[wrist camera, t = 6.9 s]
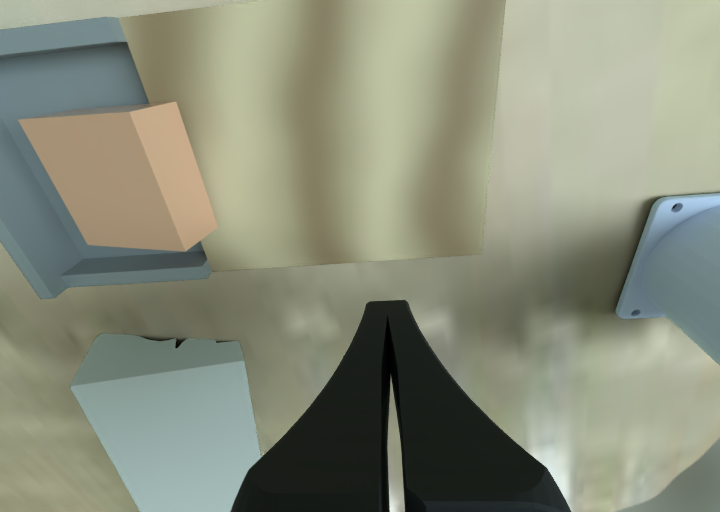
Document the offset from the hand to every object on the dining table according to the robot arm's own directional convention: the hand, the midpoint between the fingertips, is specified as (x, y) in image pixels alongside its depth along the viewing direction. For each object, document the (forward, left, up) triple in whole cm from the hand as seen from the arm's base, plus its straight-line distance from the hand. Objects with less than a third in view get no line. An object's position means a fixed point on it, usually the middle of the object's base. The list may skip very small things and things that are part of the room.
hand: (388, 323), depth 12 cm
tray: (+14, -4, -9) cm, 17 cm away
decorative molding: (+18, +25, -9) cm, 32 cm away
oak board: (+2, -4, -9) cm, 10 cm away
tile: (+11, -4, -8) cm, 14 cm away
